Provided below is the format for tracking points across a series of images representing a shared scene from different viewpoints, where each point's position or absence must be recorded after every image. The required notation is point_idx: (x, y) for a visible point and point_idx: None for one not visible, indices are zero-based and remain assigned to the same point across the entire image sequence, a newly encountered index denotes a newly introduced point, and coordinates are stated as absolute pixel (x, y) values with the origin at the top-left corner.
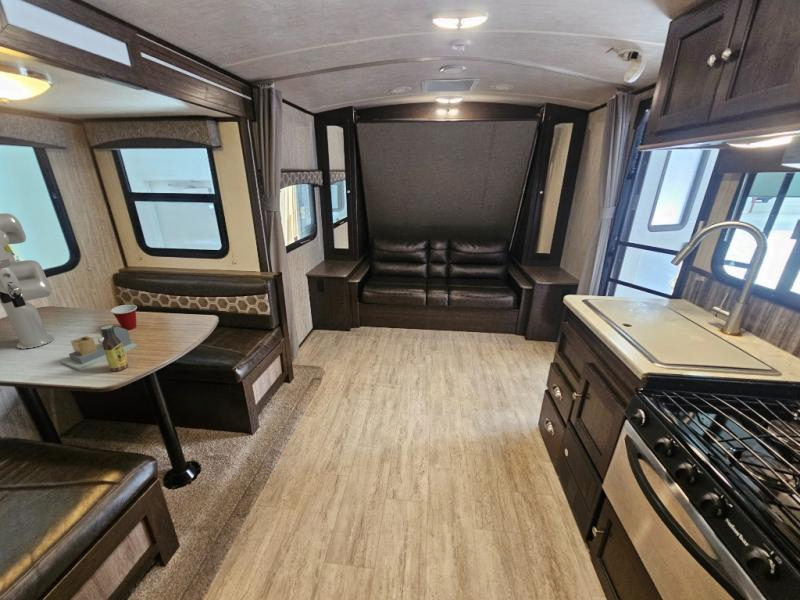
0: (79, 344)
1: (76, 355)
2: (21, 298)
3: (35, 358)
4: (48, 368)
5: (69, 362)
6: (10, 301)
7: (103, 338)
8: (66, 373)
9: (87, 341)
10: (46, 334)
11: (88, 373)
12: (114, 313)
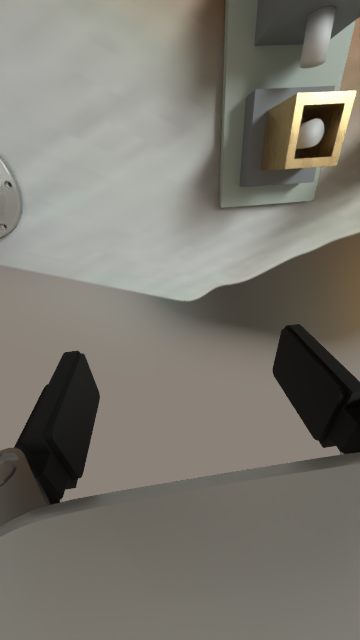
0: (334, 160)
1: (280, 177)
2: (343, 379)
3: (118, 234)
4: (217, 238)
5: (254, 198)
6: (87, 369)
7: (329, 34)
8: (287, 224)
9: (345, 124)
10: None
11: (343, 193)
12: None
